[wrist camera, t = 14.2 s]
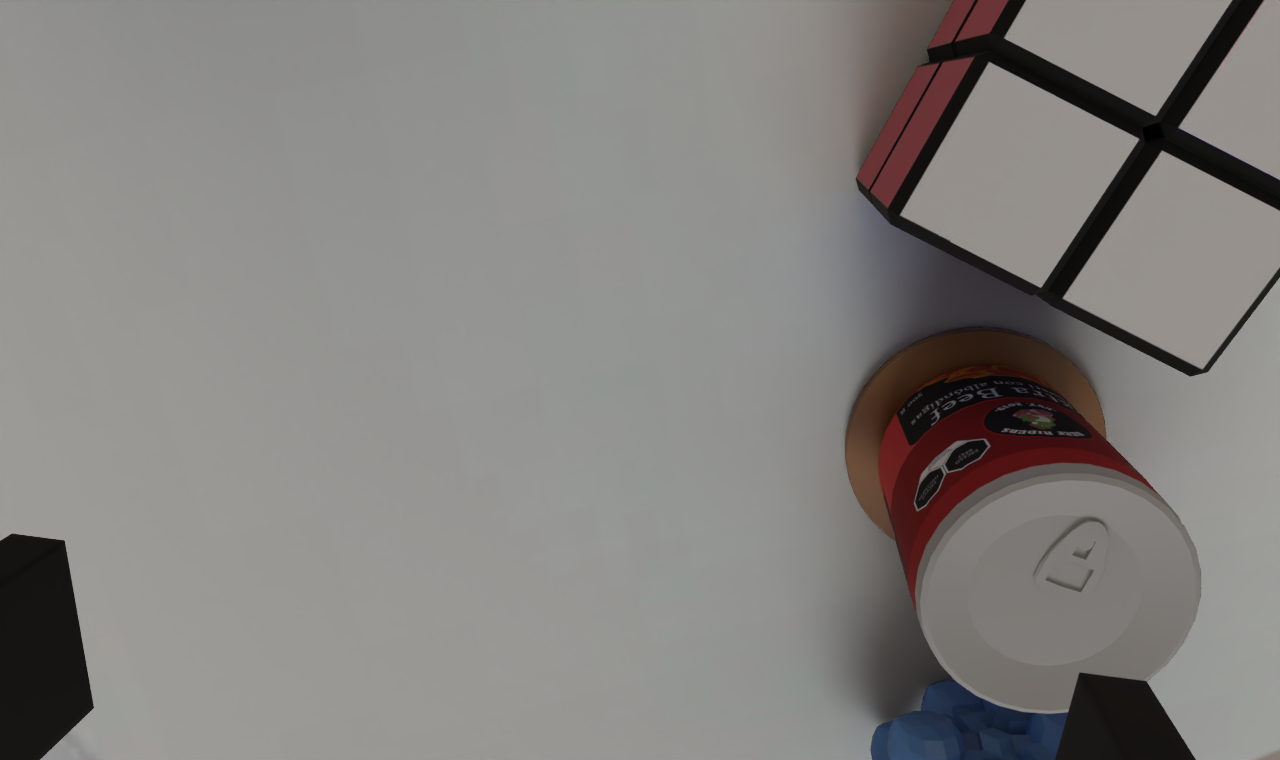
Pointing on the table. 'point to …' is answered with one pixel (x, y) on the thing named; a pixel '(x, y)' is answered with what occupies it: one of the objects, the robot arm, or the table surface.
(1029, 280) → the puzzle cube
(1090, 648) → the canned food
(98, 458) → the table surface
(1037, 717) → the grapes
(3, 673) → the robot arm
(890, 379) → the coaster
